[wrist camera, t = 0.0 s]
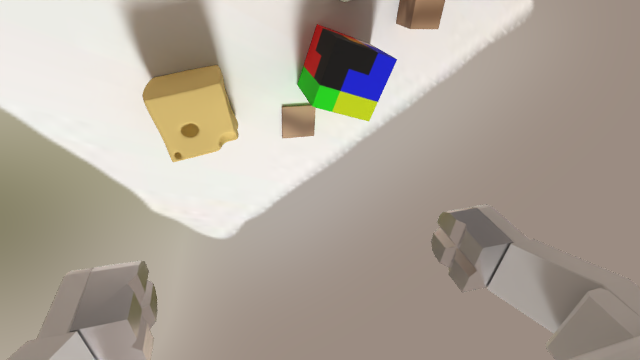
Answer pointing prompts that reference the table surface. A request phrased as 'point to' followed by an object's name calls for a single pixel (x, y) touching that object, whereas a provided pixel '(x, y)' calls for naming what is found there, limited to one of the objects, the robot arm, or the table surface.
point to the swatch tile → (298, 121)
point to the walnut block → (420, 13)
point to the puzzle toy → (344, 74)
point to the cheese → (191, 111)
